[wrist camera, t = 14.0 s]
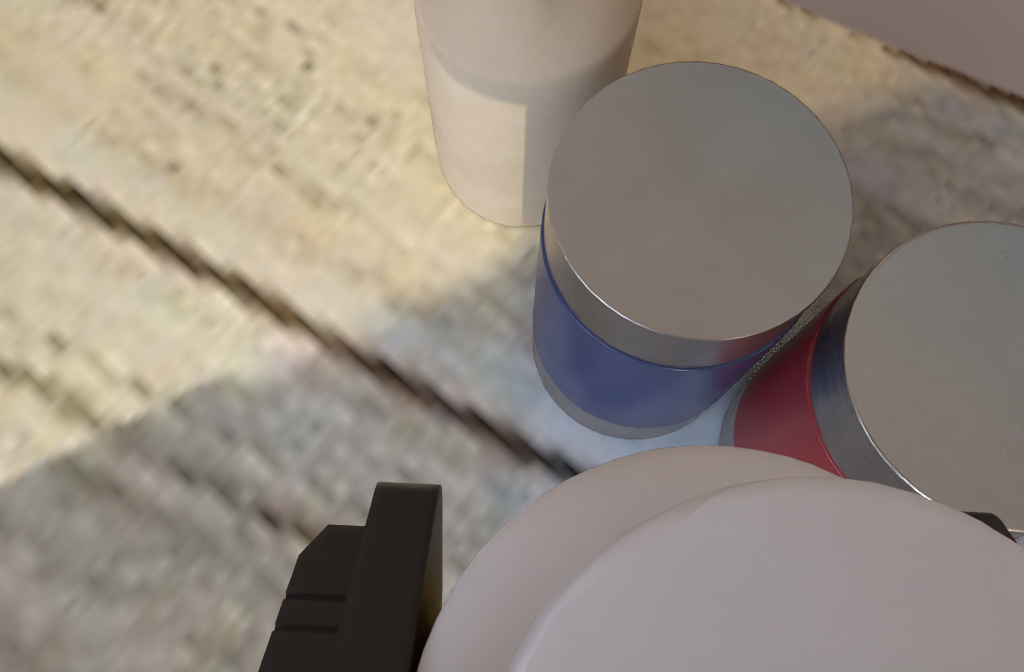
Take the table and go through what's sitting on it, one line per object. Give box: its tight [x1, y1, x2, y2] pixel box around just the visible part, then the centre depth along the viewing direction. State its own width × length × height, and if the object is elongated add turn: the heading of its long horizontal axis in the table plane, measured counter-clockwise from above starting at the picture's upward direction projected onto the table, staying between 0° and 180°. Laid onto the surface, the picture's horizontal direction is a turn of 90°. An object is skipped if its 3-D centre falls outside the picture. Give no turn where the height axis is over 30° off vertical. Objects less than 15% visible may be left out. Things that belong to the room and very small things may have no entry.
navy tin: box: [533, 61, 853, 439], centre depth 23 cm, size 6×6×10 cm
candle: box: [413, 0, 642, 227], centre depth 25 cm, size 6×6×10 cm
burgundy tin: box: [719, 221, 1024, 539], centre depth 22 cm, size 6×6×10 cm
